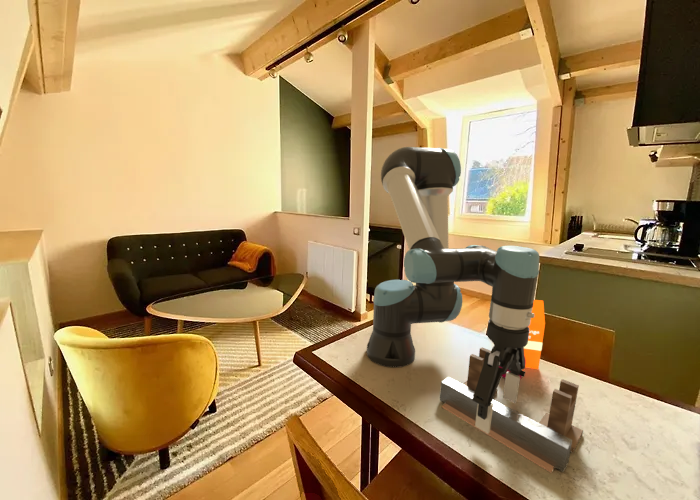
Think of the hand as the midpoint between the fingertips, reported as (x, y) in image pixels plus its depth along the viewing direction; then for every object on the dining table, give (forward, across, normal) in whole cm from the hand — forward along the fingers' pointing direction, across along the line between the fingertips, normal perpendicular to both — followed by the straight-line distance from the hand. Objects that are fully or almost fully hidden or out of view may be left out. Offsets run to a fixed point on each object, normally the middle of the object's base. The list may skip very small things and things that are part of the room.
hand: (496, 413), depth 67 cm
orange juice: (+4, +34, +7) cm, 35 cm away
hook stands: (+4, +9, -1) cm, 10 cm away
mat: (+4, 0, 0) cm, 4 cm away
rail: (+3, 0, 0) cm, 3 cm away
